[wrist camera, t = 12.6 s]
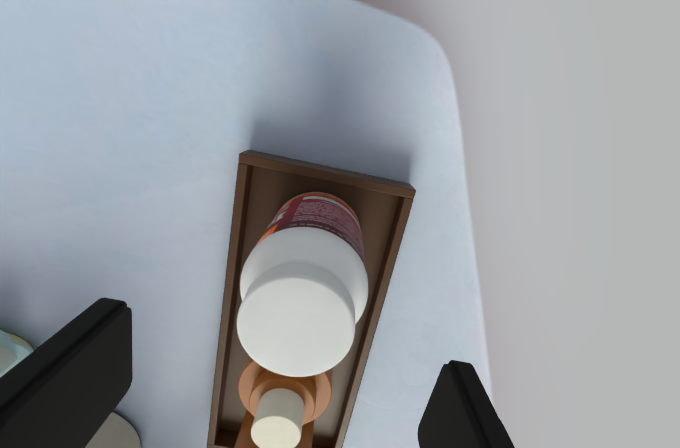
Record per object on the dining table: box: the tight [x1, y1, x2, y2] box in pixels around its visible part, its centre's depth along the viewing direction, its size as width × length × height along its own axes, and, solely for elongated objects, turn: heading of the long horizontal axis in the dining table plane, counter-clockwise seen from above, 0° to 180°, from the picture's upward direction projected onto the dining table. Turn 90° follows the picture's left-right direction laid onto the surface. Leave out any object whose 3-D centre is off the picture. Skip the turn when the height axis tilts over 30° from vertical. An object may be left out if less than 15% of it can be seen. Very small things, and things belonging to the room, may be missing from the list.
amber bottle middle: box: [238, 355, 333, 448], centre depth 21 cm, size 6×6×9 cm
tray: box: [207, 150, 416, 448], centre depth 25 cm, size 25×11×2 cm, turn 168°
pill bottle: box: [237, 192, 368, 377], centre depth 18 cm, size 6×6×11 cm
